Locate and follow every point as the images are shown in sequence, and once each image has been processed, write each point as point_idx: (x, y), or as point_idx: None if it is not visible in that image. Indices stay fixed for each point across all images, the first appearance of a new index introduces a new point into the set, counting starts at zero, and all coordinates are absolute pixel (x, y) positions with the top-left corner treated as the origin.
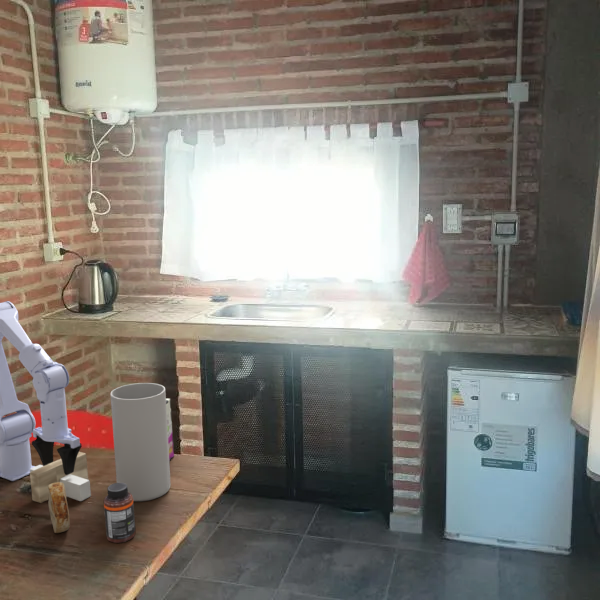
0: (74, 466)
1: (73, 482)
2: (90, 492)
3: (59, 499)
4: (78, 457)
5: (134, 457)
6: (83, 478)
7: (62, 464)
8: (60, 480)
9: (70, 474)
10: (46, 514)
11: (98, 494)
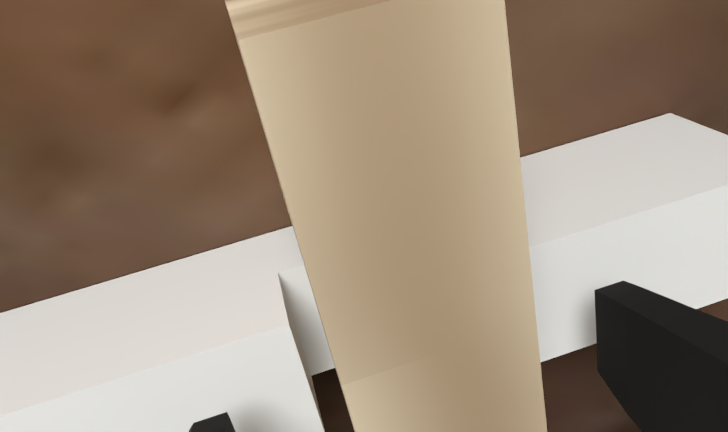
0: (681, 304)
1: (691, 301)
2: (696, 125)
3: None
4: (515, 161)
5: None
6: (708, 191)
7: (543, 424)
8: None
9: None
10: (615, 428)
11: (699, 47)
